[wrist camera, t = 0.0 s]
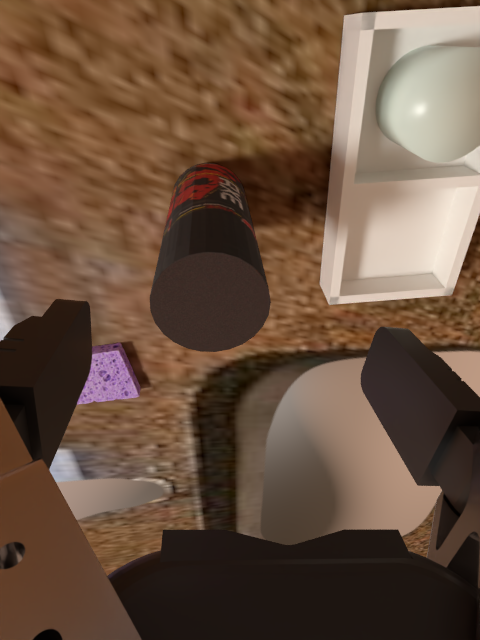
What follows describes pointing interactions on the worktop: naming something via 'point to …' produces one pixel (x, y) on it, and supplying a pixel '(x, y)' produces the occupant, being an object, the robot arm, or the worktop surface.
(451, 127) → the caddy
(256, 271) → the deodorant
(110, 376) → the sponges
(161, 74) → the worktop surface
